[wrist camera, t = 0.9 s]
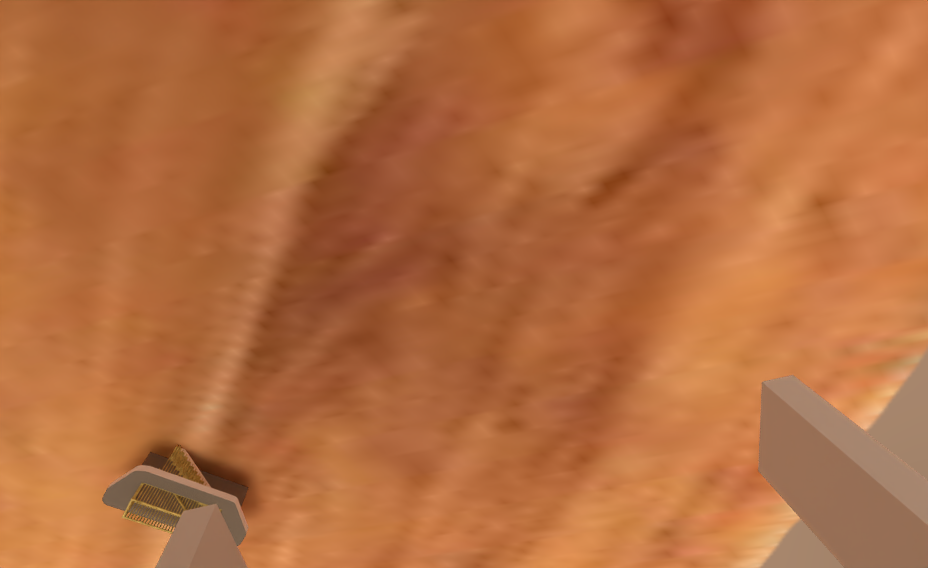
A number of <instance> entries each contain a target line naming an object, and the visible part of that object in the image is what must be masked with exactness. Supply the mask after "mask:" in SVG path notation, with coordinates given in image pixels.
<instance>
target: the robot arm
mask: <svg viewBox="0 0 928 568" xmlns="http://www.w3.org/2000/svg"><path fill="white" fill-rule="evenodd" d="M758 471H759V472H760V473H761V474H762V476H763V477H764V478H765V479H766V480H767V481H768V482H769V483H770V485H771V486H772V487H773V488H774V489H775V490H776V491H777V492H778V494H779V495H780V496H781V497H782V498H783V499H784V500H785V501H786V503H787V504H788V505H789V506H790V507H791V508H792V509H793V510H794V511H795V513H796V514H797V515H798V516H799V517H800V518H801V519H802V520H803V522H804V523H805V524H806V525H807V526H808V527H809V528H810V529H811V530H812V532H813V533H814V534H815V535H816V536H817V537H818V538H819V540H820V541H821V542H822V543H823V544H824V545H825V546H826V547H827V548H828V550H829V551H830V552H831V553H832V554H833V555H834V556H835V557H836V559H837V560H838V561H839V562H840V563H841V564H842V565H843V566H844V568H928V480H927V479H926V478H924V477H923V476H922V475H921V474H919V473H918V472H917V471H915V470H914V469H913V468H912V467H910V466H909V465H908V464H906V463H905V462H904V461H903V460H901V459H900V458H899V457H897V456H896V455H895V454H894V453H892V452H891V451H890V450H888V449H887V448H886V447H885V446H883V445H882V444H881V443H879V442H878V441H877V440H876V439H874V438H873V437H871V436H870V435H869V434H868V433H867V432H865V431H864V430H863V429H861V428H860V427H859V426H858V425H856V424H855V423H854V422H853V421H851V420H850V419H849V418H847V417H846V416H845V415H844V414H842V413H841V412H840V411H838V410H837V409H836V408H835V407H833V406H832V405H831V404H829V403H828V402H827V401H826V400H824V399H823V398H822V397H820V396H819V395H818V394H817V393H815V392H814V391H813V390H811V389H810V388H809V387H808V386H806V385H805V384H804V383H802V382H801V381H800V380H799V379H797V378H796V377H795V376H793V375H791V376H786V377H782V378H777V379H773V380H768V381H764V382H762V394H761V418H760V442H759V467H758ZM155 568H247V566H246V564H245V562H244V559H243V557H242V555H241V553H240V551H239V549H238V547H237V545H236V543H235V541H234V539H233V537H232V535H231V533H230V531H229V529H228V526H227V524H226V522H225V520H224V518H223V516H222V514H221V512H220V510H219V508H218V506H217V504H213V505H208V506H204V507H199V508H195V509H190V510H186V511H183V513H182V515H181V517H180V519H179V521H178V523H177V525H176V527H175V529H174V531H173V533H172V535H171V537H170V539H169V541H168V543H167V545H166V547H165V549H164V551H163V553H162V555H161V557H160V559H159V561H158V563H157V565H156V567H155Z"/></svg>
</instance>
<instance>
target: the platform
mask: <svg viewBox="0 0 928 568" xmlns="http://www.w3.org/2000/svg"><path fill="white" fill-rule="evenodd" d="M180 446H181V445H180ZM180 446H179V447H178V444H177V446H176V448H175V449H174V451H173V452H172V454H171V456H170V457H171V458H170V457H169V459H168V458H165V457H163V456H160V455H157V454H154V453H152V452H150V454H149V455H148V457H147V458H146V460H145V461H144V463H143V464H142V465H139V466H136V467H135V468H133V469H132V470H130V471H129V472H127V473H126V474H124V475H123V476H121V477H119V478H118V479H116V480H115V481H113V482H112V483H111V484H110V486H109V487H108V488H107V490H106V492H105V494H104V496H103V499H102V500H103V502H104V503H105V504H106V505H108V506H111V507H114V508H118V509H121V510H124V511H125V512H124V514H123V516H122V518H125V519H128V520H131V521H134V522H137V523H140V524H143V525H146V526H149V527H152V528H156V529H159V530H162V531H165V532H168V533H171V534H172V533H173V532H171V531H172V529H173V527H176V525H177V523H178V521H179V519H180V517H181V515H182V513H183V511H186V510H190V509H195V508H199V507H204V506H208V505H213V504H217V506H218V508H219V510H220V512H221V514H222V516H223V518H224V520H225V522H226V524H227V526H228V529H229V531H230V533H231V535H232V537H233V539H234V541H235V543H236V545H237V546H238V545H240V544H241V542H242V541H243V539H244V537H245V536H246V533H247V530H248V525H247V522H246V520H245V517H244V514H243V512H242V509H241V506H242V503H243V501H244V498H245V495H246V493H247V490H248V487H245V486H243V485H240V484H237V483H234V482H232V481H229V480H226V479H223V478H221V477H218V476H215V475H212V474H210V473H207V472H204V471H201V470H199V469H198V467H197V466H196V464H195V463H194V462H193V460H192V459H191V457H190V456H189V454H188V453H187V451H186V450H185V449H183V448H180ZM128 512H130V514H129V516H130V515H131V513H133V515H134V514H136V516H137V515H139V517H140V516H142V517H145V518H148V519H150V521H151V520H153V522H154V521H156V522H159V523H163V524H164V526H165V524H166V525H167V526H168V525H169V526H170V527H171V526H172V529H171V531H169V529H170V527H169V529H168V530H166V528H167V526H166V528H165V529H163V528H164V526H163V528H160V527H161V525H162V524H161V525H160V527H158V525H159V523H158V525H157V527H156V526H155V524H156V522H155V524H154V526H153V525H152V524H153V522H152V524H151V525H150V524H149V523H150V521H149V523H148V524H147V523H146V522H147V520H148V519H147V520H146V522H145V523H144V520H145V518H144V520H143V521H142V522H140V521H141V519H142V517H141V519H140V521H137V520H138V518H139V517H138V518H137V520H134V519H135V518H136V516H135V518H134V519H132V517H133V515H132V517H131V518H129V516H128V517H126V515H127V514H128ZM126 513H127V514H126Z"/></svg>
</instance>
